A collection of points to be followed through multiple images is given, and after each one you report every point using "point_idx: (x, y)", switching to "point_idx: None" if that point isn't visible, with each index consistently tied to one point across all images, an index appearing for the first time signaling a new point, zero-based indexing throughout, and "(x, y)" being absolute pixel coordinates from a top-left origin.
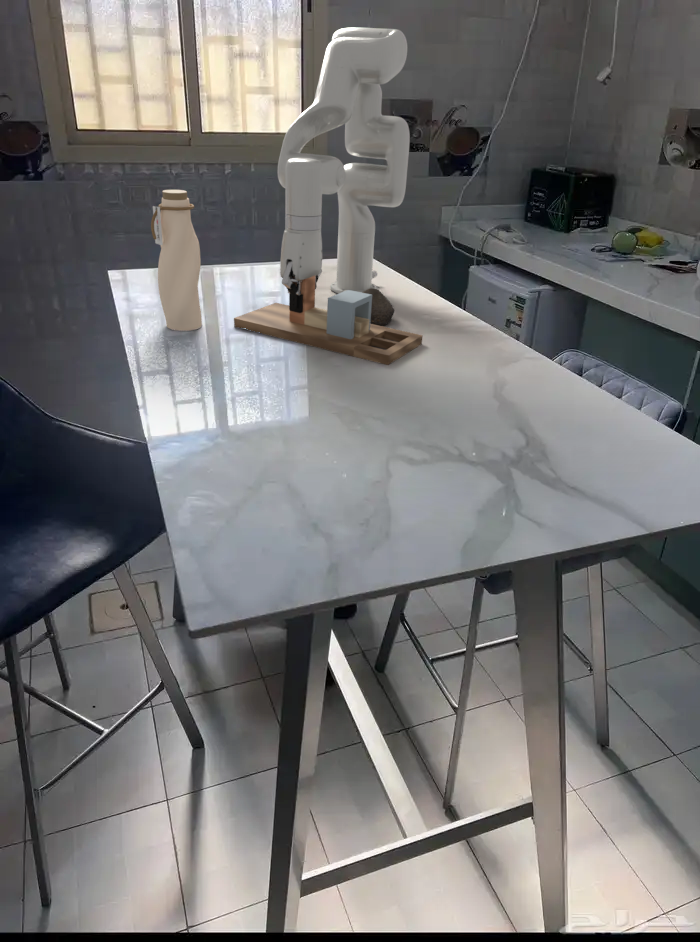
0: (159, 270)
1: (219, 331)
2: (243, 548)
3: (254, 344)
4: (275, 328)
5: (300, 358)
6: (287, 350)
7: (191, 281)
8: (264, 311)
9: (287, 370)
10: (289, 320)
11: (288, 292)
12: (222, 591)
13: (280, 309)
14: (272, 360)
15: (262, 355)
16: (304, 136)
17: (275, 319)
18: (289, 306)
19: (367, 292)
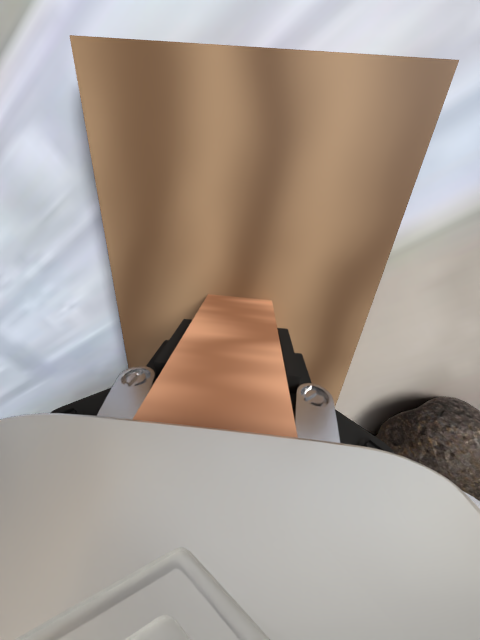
0: None
1: (10, 44)
2: None
3: (40, 265)
4: (116, 292)
5: (70, 393)
6: (82, 354)
7: None
8: (263, 117)
9: (6, 399)
10: (208, 294)
11: (126, 372)
12: None
13: (333, 174)
14: (12, 356)
15: (9, 325)
16: None
17: (191, 240)
18: (180, 324)
19: (476, 498)
